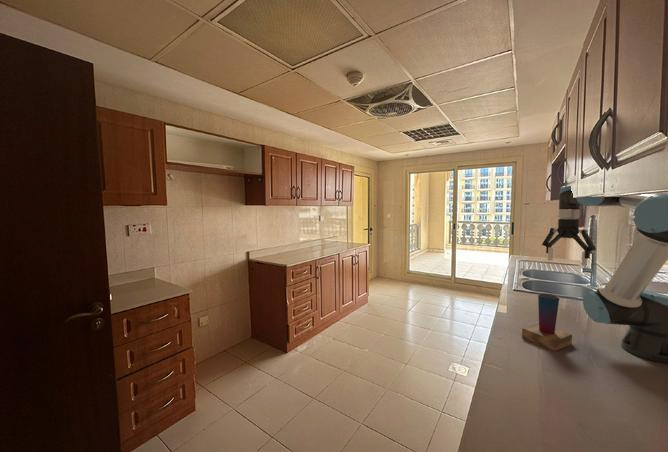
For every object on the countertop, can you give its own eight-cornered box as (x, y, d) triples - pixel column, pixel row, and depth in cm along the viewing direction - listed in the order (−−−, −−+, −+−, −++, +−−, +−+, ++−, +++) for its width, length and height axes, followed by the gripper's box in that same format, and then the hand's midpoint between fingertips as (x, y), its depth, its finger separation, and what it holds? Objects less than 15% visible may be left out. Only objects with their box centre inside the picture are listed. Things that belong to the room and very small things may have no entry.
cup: (549, 328, 114) (551, 293, 113) (561, 335, 107) (563, 298, 106) (532, 327, 114) (534, 292, 113) (543, 334, 108) (545, 298, 107)
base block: (571, 344, 108) (572, 334, 108) (554, 350, 103) (555, 340, 103) (538, 332, 119) (539, 323, 119) (521, 337, 114) (522, 328, 114)
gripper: (607, 219, 118) (604, 267, 119) (543, 217, 140) (541, 257, 142) (599, 219, 115) (596, 268, 116) (535, 217, 137) (533, 258, 139)
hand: (566, 262), depth 129 cm, fingers open, 13 cm apart
